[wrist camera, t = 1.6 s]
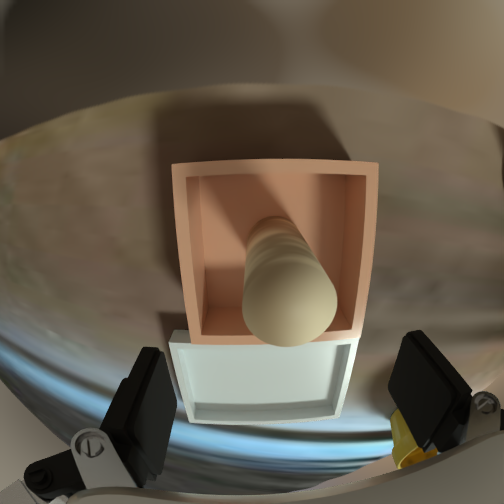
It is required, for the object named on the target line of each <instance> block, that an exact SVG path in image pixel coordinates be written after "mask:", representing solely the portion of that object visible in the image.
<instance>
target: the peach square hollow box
mask: <svg viewBox="0 0 504 504" xmlns="http://www.w3.org/2000/svg"><path fill="white" fill-rule="evenodd" d="M172 182H173V197H174V210H175V222H176V233H177V243H178V252H179V261H180V270H181V278H182V286H183V293H184V300H185V307H186V314H187V320H188V326H189V333H190V339H191V344H197V345H263V344H268V343H265V342H263V341H261V340H260V339H258V338H257V337H256V336H255V335H253V334H252V332H251V331H250V330H249V329H248V327H247V326H246V323H245V321H244V318H243V313H242V301H243V288H244V274H245V260H246V247H247V237H248V234H249V232H250V230H251V228H252V227H253V226H254V224H256V223H257V222H258V221H259V220H261V219H263V218H266V217H270V216H280V217H284V218H286V219H288V220H290V221H291V222H293V223H294V224H295V225H296V227H297V228H298V230H299V231H300V233H301V234H302V236H303V237H304V239H305V240H306V242H307V244H308V245H309V247H310V248H311V250H312V252H313V253H314V255H315V256H316V258H317V259H318V261H319V263H320V264H321V266H322V268H323V269H324V271H325V272H326V274H327V276H328V277H329V279H330V281H331V282H332V284H333V286H334V288H335V290H336V294H337V309H336V313H335V316H334V318H333V320H332V322H331V324H330V325H329V327H328V328H327V329H326V330H325V331H324V332H323V333H322V334H321V335H320V336H318V337H317V338H315V339H314V340H312V341H310V342H320V341H332V340H343V339H353V338H360V337H361V332H362V327H363V321H364V316H365V310H366V304H367V298H368V291H369V284H370V277H371V269H372V261H373V252H374V242H375V230H376V217H377V200H378V163H374V162H360V161H344V160H320V159H245V160H221V161H205V162H191V163H179V164H172Z"/></svg>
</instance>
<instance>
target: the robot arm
mask: <svg viewBox="0 0 504 504" xmlns="http://www.w3.org/2000/svg"><path fill="white" fill-rule="evenodd" d="M388 390H389V392H390V394H391V396H392V398H393V400H394V402H395V403H396V405H397V407H398V409H399V411H400V413H401V415H402V417H403V418H404V420H405V422H406V424H407V426H408V428H409V430H410V432H411V434H412V436H413V438H414V440H415V442H416V444H417V446H418V447H419V448H422V450H423V452H424V453H426V452H428V451H431V450H433V449H435V448H437V450H438V452H437V455H436V456H433V457H431V458H429V459H426V460H424V461H421V462H418V463H416V464H413V465H410V466H408V467H405V468H402V469H399V470H396V471H393V472H390V473H386V474H383V475H380V476H376V477H372V478H369V479H365V480H361V481H357V482H353V483H348V484H343V485H339V486H333V487H328V488H323V489H316V490H310V491H301V492H293V493H283V494H269V495H205V494H190V493H179V492H171V491H162V490H153V489H145V488H144V486H143V485H145V484H146V480H152V481H156V477H157V475H161V473H162V470H163V465H164V461H165V456H166V451H167V447H168V442H169V438H170V434H171V429H172V425H173V421H174V417H175V412H176V408H177V399H176V396H175V392H174V389H173V385H172V381H171V378H170V374H169V370H168V366H167V363H166V359H165V355H164V352H163V351H160V350H159V348H157V347H143V348H142V349H141V351H140V354H139V356H138V358H137V360H136V362H135V364H134V366H133V368H132V370H131V372H130V374H129V376H128V378H124V379H123V380H122V381H121V383H120V385H119V387H118V390H117V392H116V394H115V396H114V398H113V400H112V402H111V404H110V406H109V409H108V411H107V413H106V415H105V417H104V420H103V422H102V424H101V426H100V428H99V429H96V428H87V429H83V430H81V431H79V432H78V433H77V434H76V435H74V437H73V439H72V441H71V449H69V450H67V451H64V452H61V453H59V454H56V455H53V456H51V457H48V458H45V459H42V460H39V461H36V462H34V463H32V464H30V465H29V466H28V467H27V468H26V470H25V473H24V480H23V481H20V480H19V479H18V480H17V481H15V482H14V483H12V484H11V485H10V486H8V487H7V488H5V489H4V490H2V491H1V492H0V504H504V410H503V409H501V406H500V402H499V400H498V398H497V397H496V396H495V395H493V394H492V393H489V392H487V391H481V392H478V393H476V394H474V396H473V397H472V395H471V392H472V389H471V388H470V387H469V385H468V384H467V383H466V382H465V380H464V379H463V378H462V377H461V375H460V374H459V373H458V372H457V371H456V369H455V368H454V367H453V366H452V365H451V363H450V362H449V361H448V360H447V359H446V358H445V356H444V355H443V354H442V353H441V352H440V351H439V349H438V348H437V347H436V346H435V345H434V344H433V343H432V342H431V340H430V339H429V338H428V337H427V336H426V335H425V334H424V333H423V331H421V330H416V331H411V332H408V333H407V334H406V336H404V337H403V339H402V343H401V346H400V350H399V353H398V356H397V359H396V362H395V366H394V369H393V372H392V375H391V377H390V380H389V383H388Z"/></svg>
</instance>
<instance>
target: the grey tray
mask: <svg viewBox="0 0 504 504" xmlns="http://www.w3.org/2000/svg"><path fill="white" fill-rule="evenodd" d="M358 341H359V338H353V339H343V340H332V341H320V342H308V343H305V344H302V345H299V346H293V347H279V346H274V345H270V344H263V345H197V344H191V339H190V333H189V330H174V331H173V333H172V336H171V338H170V340H169V347H170V351H171V355H172V360H173V364H174V368H175V372H176V376H177V380H178V384H179V387H180V391H181V395H182V398H183V402H184V405H185V409H186V412H187V416H188V419H189V422H190V423H204V424H228V425H261V424H284V423H298V422H309V421H319V420H327V419H335V418H339V416H340V413H341V410H342V406H343V403H344V399H345V395H346V392H347V388H348V384H349V380H350V376H351V372H352V368H353V364H354V359H355V355H356V350H357V346H358Z"/></svg>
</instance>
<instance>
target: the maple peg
mask: <svg viewBox="0 0 504 504" xmlns="http://www.w3.org/2000/svg"><path fill="white" fill-rule="evenodd" d="M336 309H337V294H336V290H335V288H334V286H333V284H332V282H331V281H330V279H329V277H328V276H327V274H326V272H325V271H324V269H323V268H322V266H321V264H320V263H319V261H318V259H317V258H316V256H315V255H314V253H313V252H312V250H311V248H310V247H309V245H308V244H307V242H306V240H305V239H304V237H303V236H302V234H301V233H300V231H299V230H298V228H297V227H296V225H295V224H294V223H293V222H291V221H290V220H288V219H286V218H284V217H280V216H270V217H266V218H263V219H261V220H259V221H258V222H257V223H256V224H254V226H253V227H252V228H251V230H250V232H249V234H248V237H247V247H246V260H245V274H244V288H243V301H242V313H243V318H244V321H245V323H246V326H247V327H248V329H249V330H250V331H251V332H252V334H253V335H255V336H256V337H257V338H258V339H260V340H261V341H263V342H265V343H268V344H270V345H274V346H279V347H293V346H299V345H302V344H305V343H308V342H310V341H312V340H314V339H315V338H317V337H318V336H320V335H321V334H322V333H323V332H324V331H325V330H326V329H327V328H328V327H329V325H330V324H331V322H332V320H333V318H334V316H335V313H336Z"/></svg>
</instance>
